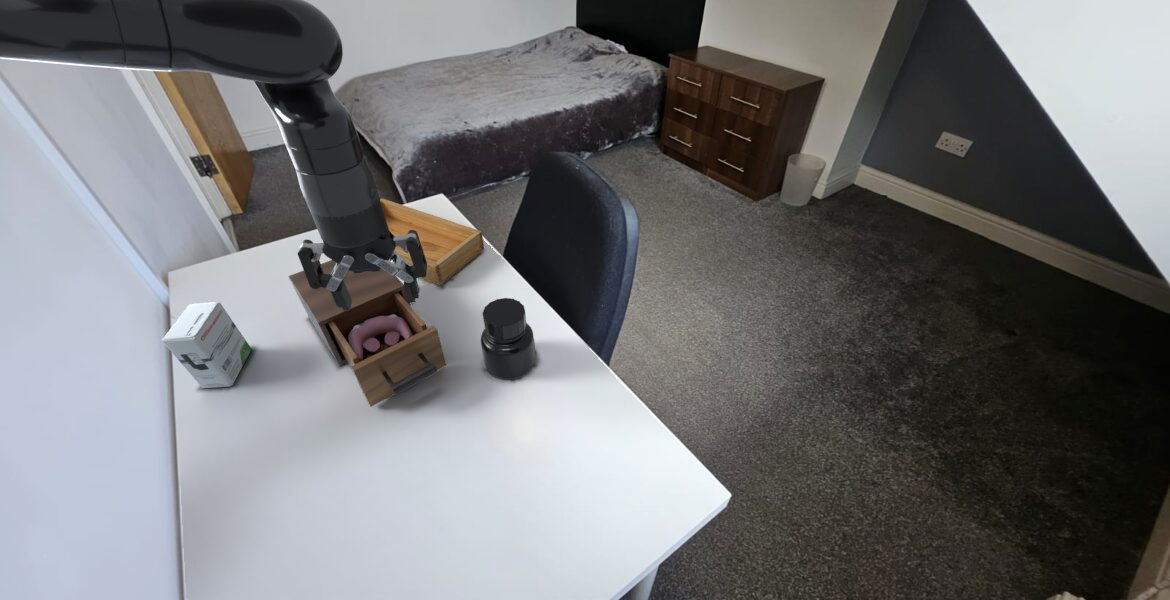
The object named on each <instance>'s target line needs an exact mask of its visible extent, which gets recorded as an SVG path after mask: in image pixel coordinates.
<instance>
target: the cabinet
mask: <svg viewBox="0 0 1170 600" xmlns="http://www.w3.org/2000/svg"><path fill="white" fill-rule="evenodd" d="M320 264H321V267H322V269H323V272H324V274H331V273H332V271H333V269H334V267H335V265H336V262H334V261H333V260H331V259H329V260H328V261H325V262H323V263H320ZM288 279H289V281H290V283H291V285H292V287H293V289H294V291H295V293H296V295H297V297H298V299H299V301H300V303H301V304H302V307H303V308H304V310H305V312H306V314H307V316H308V319H309V320H310V322H311V323H312V325H313V326H314V328H315V330H316V331H317V333H318V335H319V336H320V338H321V339H322V341H323V342H324V344H325V346H326V347H327V348H328V350H329V352H330V353H331V355H332V357H333V358H334V360H335V362H336V363H337V365H338V366H339V367H341V366H343V365H346V364H348V362H347V360H346V359H345V357H344V356H343V354H342V353H341V351H340V349H339V347H338V345H337V343H336V341H335V338H334V336H333V334H332V332H331V330H330V328H329V326H328V324H327V323H328V322H330V321H333V320H335V319H337V318H340V317H342V316H344V315H346V314H349V313H351V312H353V311H356V310H358V309H360V308H362V307H365V306H367V305H369V304H372V303H374V302H376V301H378V300H381V299H383V298H385V297H388V296H390V295H392V294H394V293H397V292H398V293H399V294H400V295H401V296H402V297H403V298H404V300H405V301H406V302H407V303H408V304H409V305H410V306H411V303H409V300H408V297H407V293H406V290H405V287H404V282H402V281H401V279H400V278H399V277H397V276H396V275H394V276H392V275H390V274H389V273H387V272H386V271H384V270H383V269H380V271H375V272H372V271H365V272H362V273H355V274H354V272H352V271H349V270H348V271H347V273H346V275H345V277H344V278H343V280H344V283H345V285H346V288H347V290H348V292H349V295H350V297H351V301H352V304H351V308H350V310H347V311H343V309H342V307H340V308H339V307H338V306H337V305H336V303H335V301H334V298H333V296H332V294H331V292H330V291H329V290H328V289H327V288H322V287H320V288H319V289H313V288H311V287H310V285H309V283H308V280H307V277H306V275H305V272H304V270H301V271H298V272H296V273H292V274H290V275H288ZM411 307H412V306H411Z"/></svg>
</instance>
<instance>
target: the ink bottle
mask: <svg viewBox="0 0 1170 600" xmlns="http://www.w3.org/2000/svg"><path fill="white" fill-rule="evenodd" d="M482 319H483V325H484V329H483V331H482V333H481V336H480V345H481V346H480V347H481V351H482V356H483V361H484V367H485V370H487V372H488V373H489V374H490V375H491V376H493V377H495V378H499V379H503V380H515V379H519V378H521V377H524V376H525V375H526V374H528V373H529V372H530V370H531V369H533V367H534V365H535V361H536V343H535V335H534V331H533V328H532V327H531V326H530V325H529V323H527V316H526V309H525V305H524V304H522V302H521V301H520V300H517V299H515V298H508V297H503V298H496V299H495V300H492V301H490V302H489V303H488V304H487V305H486V306H484V308H483V310H482Z"/></svg>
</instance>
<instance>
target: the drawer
mask: <svg viewBox="0 0 1170 600" xmlns="http://www.w3.org/2000/svg"><path fill="white" fill-rule="evenodd" d="M410 305H411V304H410ZM410 305H409V304H408V303H407V302H406V301H405V300H404V298H403V297H402V296H401V295H400V294H399V293H398V292H397V293H394V294H392V295H390V296H388V297H385V298H383V299H381V300H378V301H376V302H374V303H372V304H369V305H367V306H365V307H362V308H360V309H358V310H356V311H353V312H351V313H349V314H346V315H344V316H342V317H340V318H337V319H335V320H333V321H330V322H328V323H327V324H328V326H329V328H330V330H331V332H332V334H333V336H334V338H335V341H336V343H337V345H338V347H339V349H340V351H341V353H342V354H343V356H344V357H345V359H346V360H347V364H348V365H349V367H350V368H351V370H352V372H353V375H354V376H355V378H356V380H357V383H358V385H359V387H360V389H361V391H362V393H363V396H364V398H365V399H366V402H367V403H368V405H369V407H370V408H372V407H374V406H375V405H377V404H379V403H381V402H382V401H384V400H387V399H388V398H390V397H392V396H396V395H399V394H400V393H402V392H403V391H406V390H408V389H409V388H411V387H413V386H414V385H416V384H418V383H420V382H422V381H423V380H426V379H428V378H429V377H431V376H433V375H434V374H437V373H438V371H439V370H441V369H443V368H444V367H447V361H446V357H445V354H444V350H443V346H442V343H441V339H440V336H439V332H438V329H437V328H436V326H434V325H432V326H429V327H428V325H427V324H426V322H425V321H424V320H423V319H422V318H421V317H420V315H419V314H418V313H417V312H416V311H415V310H414V308H413V307H412V306H410ZM393 314H394V315H396V316H398V317H401V318H403V319H404V320H405V322H406V323H407V325H408V326H409V328H410V330H411V333H412V335H413V336H412V337H410V338H407V339H404V337H403V336H400V337H399V341H398V343H397V344H395V345H393V346H391V347H389V346H388V345H387V344H386V343H385V335H386V334H387V333H382V334H379V335H376V336H374V337H373V338H375V339H377V340H378V341H379V343H380V348H379V350H378V351H377V352H375V353H370V352H368V351H367V350H366V349H365V348H362V350H363V359H362V361H359V359H358V357H357V356H356V354H355V353H354V351H353V350H352V348H351V347H350V345H349V334H350V332H351V330H352V329H353V328H354V326H356V325H359V324H361V323H363V322H364V321H366V320H368V319H371V318H375V317H378V316H390V315H393Z"/></svg>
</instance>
